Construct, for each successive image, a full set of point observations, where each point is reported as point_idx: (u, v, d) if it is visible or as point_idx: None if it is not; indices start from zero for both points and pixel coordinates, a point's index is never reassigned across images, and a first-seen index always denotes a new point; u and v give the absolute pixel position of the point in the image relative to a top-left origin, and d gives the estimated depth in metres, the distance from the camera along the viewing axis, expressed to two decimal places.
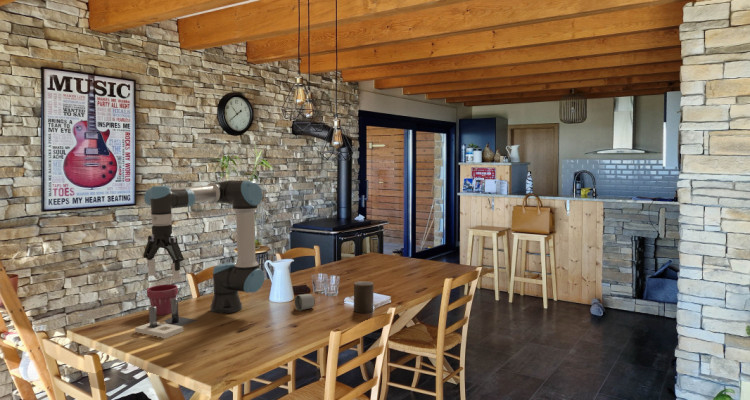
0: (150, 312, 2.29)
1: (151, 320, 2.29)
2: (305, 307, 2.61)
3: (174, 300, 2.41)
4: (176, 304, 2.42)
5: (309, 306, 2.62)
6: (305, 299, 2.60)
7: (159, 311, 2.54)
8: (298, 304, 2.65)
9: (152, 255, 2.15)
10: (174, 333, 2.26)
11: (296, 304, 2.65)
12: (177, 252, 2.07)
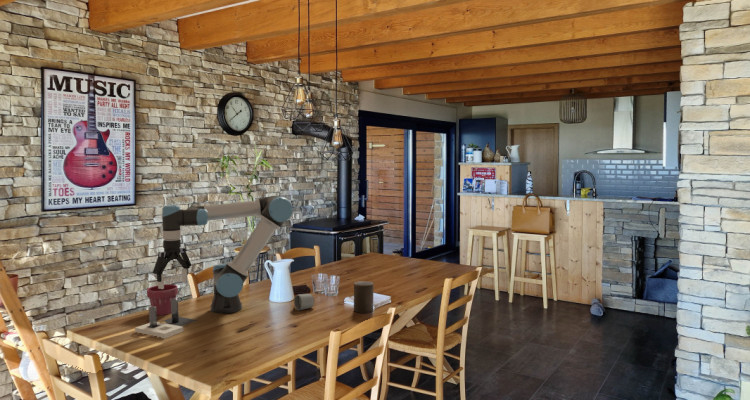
0: (150, 312, 2.29)
1: (151, 320, 2.29)
2: (305, 307, 2.61)
3: (174, 300, 2.41)
4: (176, 304, 2.42)
5: (308, 306, 2.63)
6: (304, 299, 2.61)
7: (159, 311, 2.54)
8: (297, 304, 2.66)
9: (182, 265, 2.46)
10: (174, 333, 2.26)
11: (295, 304, 2.65)
12: (155, 265, 2.33)
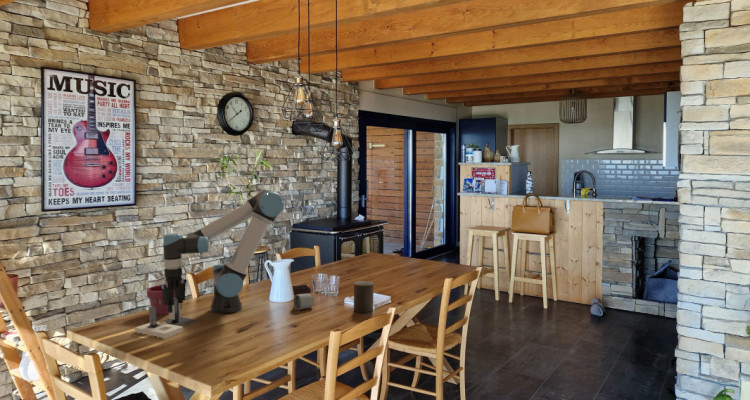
0: (150, 312, 2.29)
1: (151, 320, 2.29)
2: (304, 306, 2.62)
3: (174, 300, 2.41)
4: (176, 304, 2.42)
5: (308, 306, 2.63)
6: (304, 299, 2.61)
7: (159, 311, 2.54)
8: (297, 304, 2.66)
9: (177, 297, 2.44)
10: (174, 333, 2.26)
11: (295, 304, 2.65)
12: (163, 297, 2.38)
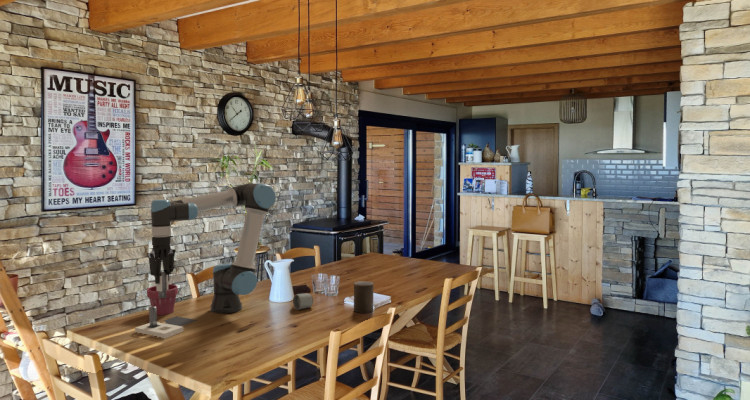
0: (150, 312, 2.29)
1: (151, 320, 2.29)
2: (304, 306, 2.62)
3: (161, 273, 2.26)
4: (163, 278, 2.26)
5: (307, 305, 2.63)
6: (303, 298, 2.62)
7: (159, 311, 2.54)
8: (296, 303, 2.67)
9: (165, 268, 2.28)
10: (174, 333, 2.26)
11: (294, 303, 2.66)
12: (150, 267, 2.22)
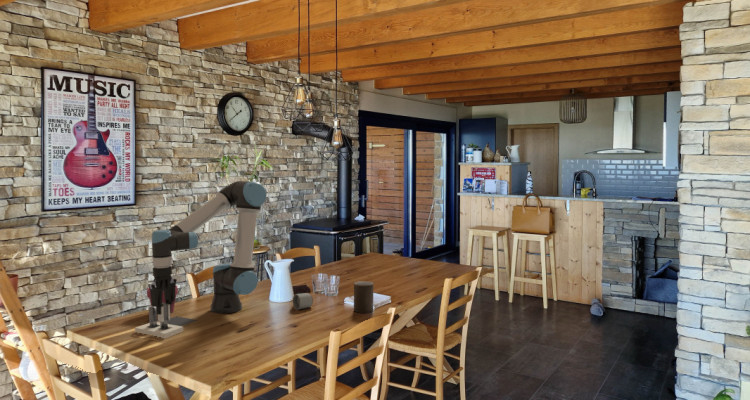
0: (150, 312, 2.29)
1: (151, 320, 2.29)
2: (303, 306, 2.62)
3: (163, 305, 2.26)
4: (165, 309, 2.26)
5: (307, 305, 2.64)
6: (303, 298, 2.62)
7: None
8: (296, 303, 2.67)
9: (166, 298, 2.28)
10: (174, 333, 2.26)
11: (294, 303, 2.66)
12: (152, 298, 2.22)
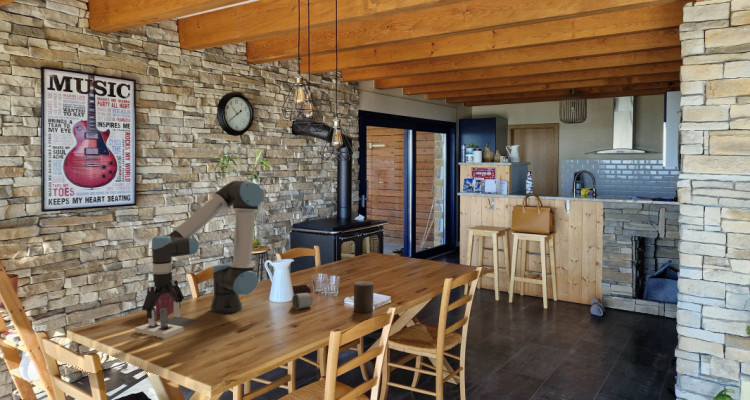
0: None
1: None
2: (303, 306, 2.63)
3: (163, 311, 2.26)
4: (165, 315, 2.26)
5: (306, 305, 2.64)
6: (302, 298, 2.62)
7: (159, 311, 2.54)
8: (296, 303, 2.67)
9: (174, 298, 2.32)
10: (174, 333, 2.26)
11: (294, 303, 2.67)
12: (145, 301, 2.19)
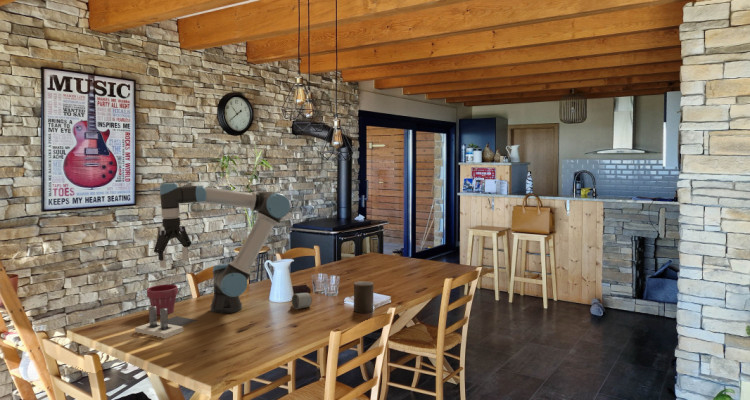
0: (150, 312, 2.29)
1: (151, 320, 2.29)
2: (302, 306, 2.63)
3: (163, 310, 2.26)
4: (165, 315, 2.26)
5: (306, 305, 2.64)
6: (302, 298, 2.63)
7: (159, 311, 2.54)
8: (295, 303, 2.68)
9: (182, 243, 2.43)
10: (174, 333, 2.26)
11: (293, 303, 2.67)
12: (156, 244, 2.30)
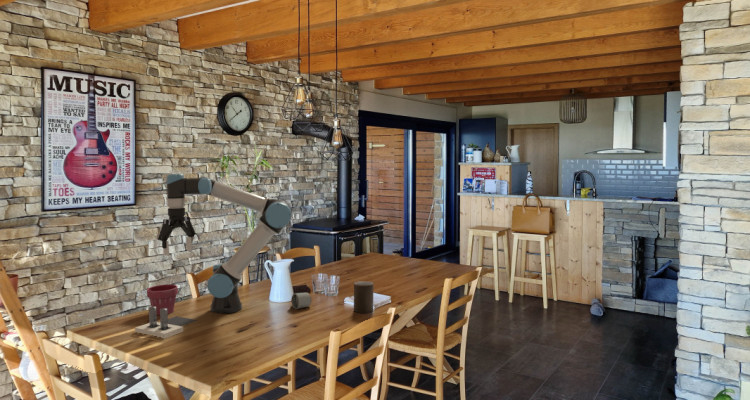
0: (150, 312, 2.29)
1: (151, 320, 2.29)
2: (302, 305, 2.64)
3: (163, 310, 2.26)
4: (165, 315, 2.26)
5: (306, 305, 2.65)
6: (302, 298, 2.63)
7: (159, 311, 2.54)
8: (295, 303, 2.68)
9: (187, 233, 2.51)
10: (174, 333, 2.26)
11: (293, 303, 2.67)
12: (161, 232, 2.38)
